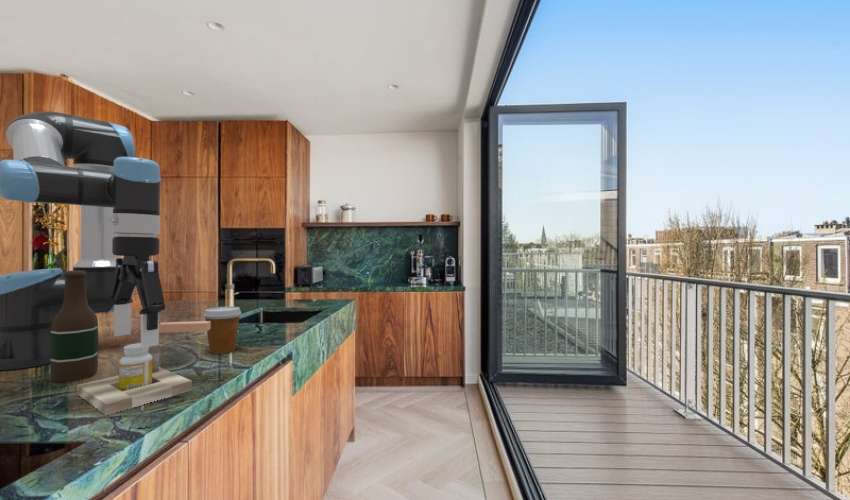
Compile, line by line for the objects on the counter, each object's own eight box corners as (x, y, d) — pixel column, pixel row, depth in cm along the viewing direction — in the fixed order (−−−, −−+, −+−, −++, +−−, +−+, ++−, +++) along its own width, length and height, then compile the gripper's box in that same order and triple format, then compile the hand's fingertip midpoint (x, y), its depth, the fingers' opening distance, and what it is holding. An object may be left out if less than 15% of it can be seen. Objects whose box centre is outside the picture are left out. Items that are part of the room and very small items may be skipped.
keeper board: (77, 395, 73) (77, 342, 73) (158, 375, 85) (158, 329, 85) (106, 415, 65) (106, 356, 65) (192, 390, 76) (192, 339, 76)
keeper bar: (143, 333, 80) (143, 325, 80) (150, 330, 83) (150, 322, 83) (206, 331, 83) (206, 323, 83) (210, 328, 85) (210, 320, 85)
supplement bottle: (133, 399, 72) (133, 350, 72) (111, 396, 73) (111, 348, 73) (158, 389, 77) (159, 343, 77) (138, 386, 78) (138, 341, 78)
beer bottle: (100, 376, 84) (100, 271, 84) (51, 385, 78) (51, 272, 78) (95, 368, 89) (96, 269, 89) (49, 376, 83) (50, 270, 83)
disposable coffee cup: (224, 356, 100) (225, 312, 100) (194, 354, 102) (195, 310, 102) (248, 347, 109) (248, 307, 109) (220, 345, 111) (220, 305, 111)
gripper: (91, 234, 78) (90, 333, 79) (140, 236, 65) (138, 356, 65) (134, 235, 85) (133, 327, 85) (186, 237, 71) (185, 347, 71)
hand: (135, 340), depth 75 cm, fingers open, 13 cm apart
